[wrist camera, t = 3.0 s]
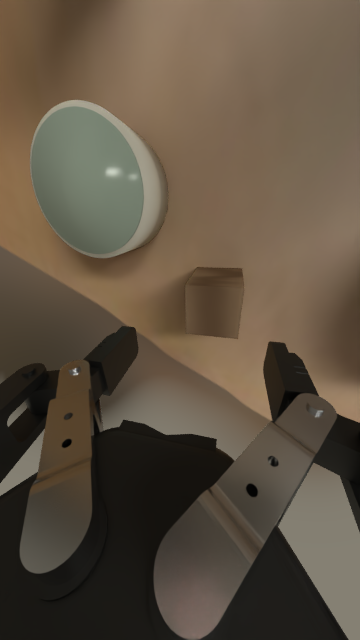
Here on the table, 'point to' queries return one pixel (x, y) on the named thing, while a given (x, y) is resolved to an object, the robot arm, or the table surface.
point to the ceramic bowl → (97, 180)
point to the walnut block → (214, 302)
